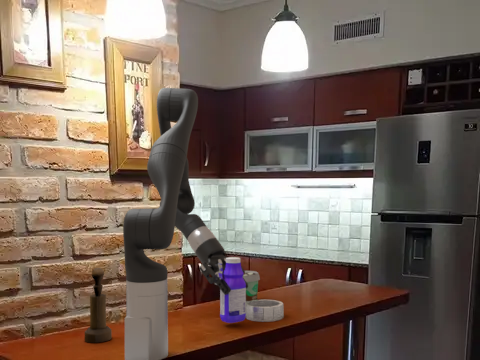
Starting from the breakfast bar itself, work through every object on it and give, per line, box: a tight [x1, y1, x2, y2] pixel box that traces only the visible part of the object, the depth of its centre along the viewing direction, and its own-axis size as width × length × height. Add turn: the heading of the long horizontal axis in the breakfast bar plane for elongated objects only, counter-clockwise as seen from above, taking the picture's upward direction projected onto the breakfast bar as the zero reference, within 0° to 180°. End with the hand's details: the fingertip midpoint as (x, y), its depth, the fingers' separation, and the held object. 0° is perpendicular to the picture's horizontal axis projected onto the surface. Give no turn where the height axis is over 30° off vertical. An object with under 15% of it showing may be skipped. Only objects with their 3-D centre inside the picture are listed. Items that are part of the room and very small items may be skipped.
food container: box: [243, 270, 261, 302], centre depth 170 cm, size 12×6×10 cm, turn 168°
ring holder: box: [245, 299, 285, 323], centre depth 150 cm, size 11×11×4 cm
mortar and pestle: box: [84, 267, 113, 344], centre depth 129 cm, size 7×6×18 cm
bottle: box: [219, 256, 246, 324], centre depth 141 cm, size 7×6×17 cm
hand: (237, 290), depth 140 cm, fingers closed on bottle, 7 cm apart
